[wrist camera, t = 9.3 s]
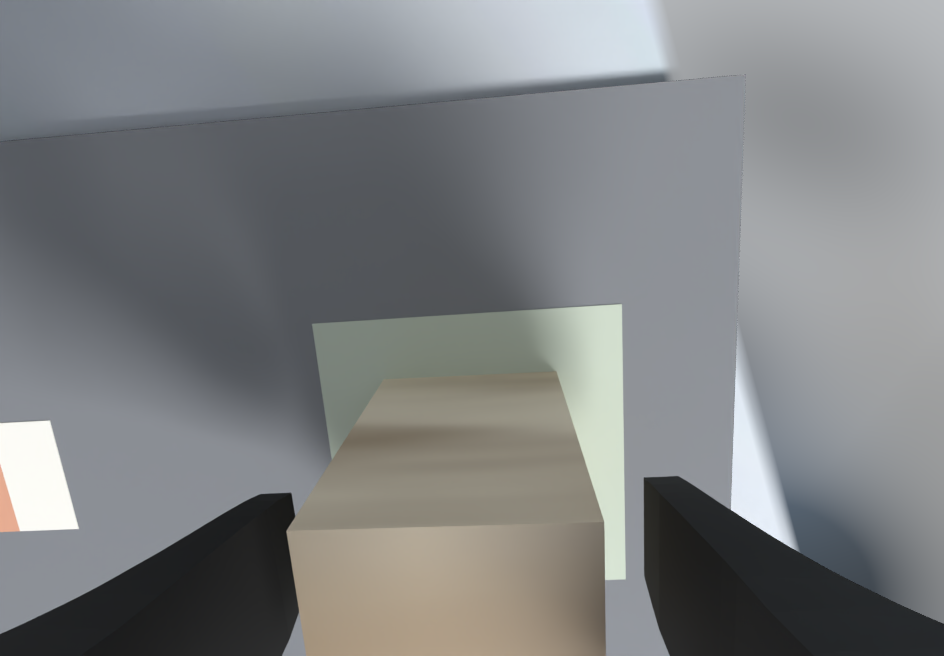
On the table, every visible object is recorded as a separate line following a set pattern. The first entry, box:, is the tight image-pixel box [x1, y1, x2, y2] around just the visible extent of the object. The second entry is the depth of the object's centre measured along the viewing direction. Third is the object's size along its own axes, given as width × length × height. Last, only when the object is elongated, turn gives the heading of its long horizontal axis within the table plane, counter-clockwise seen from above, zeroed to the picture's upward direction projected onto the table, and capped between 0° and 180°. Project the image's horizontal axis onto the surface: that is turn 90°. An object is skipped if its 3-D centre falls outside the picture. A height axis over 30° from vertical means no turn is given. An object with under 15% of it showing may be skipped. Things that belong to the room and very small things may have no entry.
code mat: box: [0, 75, 746, 656], centre depth 14 cm, size 16×24×1 cm, turn 94°
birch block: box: [286, 371, 606, 656], centre depth 10 cm, size 4×4×6 cm
